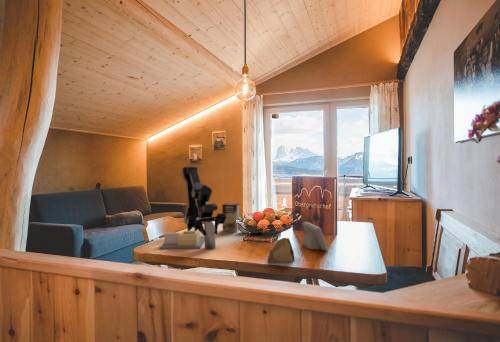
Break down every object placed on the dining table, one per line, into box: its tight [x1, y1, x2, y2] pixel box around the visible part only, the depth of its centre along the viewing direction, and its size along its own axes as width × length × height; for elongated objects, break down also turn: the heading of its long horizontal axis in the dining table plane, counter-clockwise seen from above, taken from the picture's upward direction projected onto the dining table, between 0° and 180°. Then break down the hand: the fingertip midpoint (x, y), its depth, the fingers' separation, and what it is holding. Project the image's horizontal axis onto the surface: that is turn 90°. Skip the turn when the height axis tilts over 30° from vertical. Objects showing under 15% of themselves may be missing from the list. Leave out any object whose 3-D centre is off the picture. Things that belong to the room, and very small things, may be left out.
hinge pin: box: [203, 221, 216, 250], centre depth 133 cm, size 5×5×12 cm
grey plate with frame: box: [159, 228, 205, 250], centre depth 142 cm, size 19×19×6 cm
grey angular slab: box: [302, 221, 328, 251], centre depth 133 cm, size 16×9×11 cm, turn 1°
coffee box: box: [221, 202, 240, 233], centre depth 168 cm, size 9×6×16 cm
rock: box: [267, 237, 296, 263], centre depth 114 cm, size 11×9×10 cm
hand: (210, 234), depth 132 cm, fingers open, 5 cm apart
